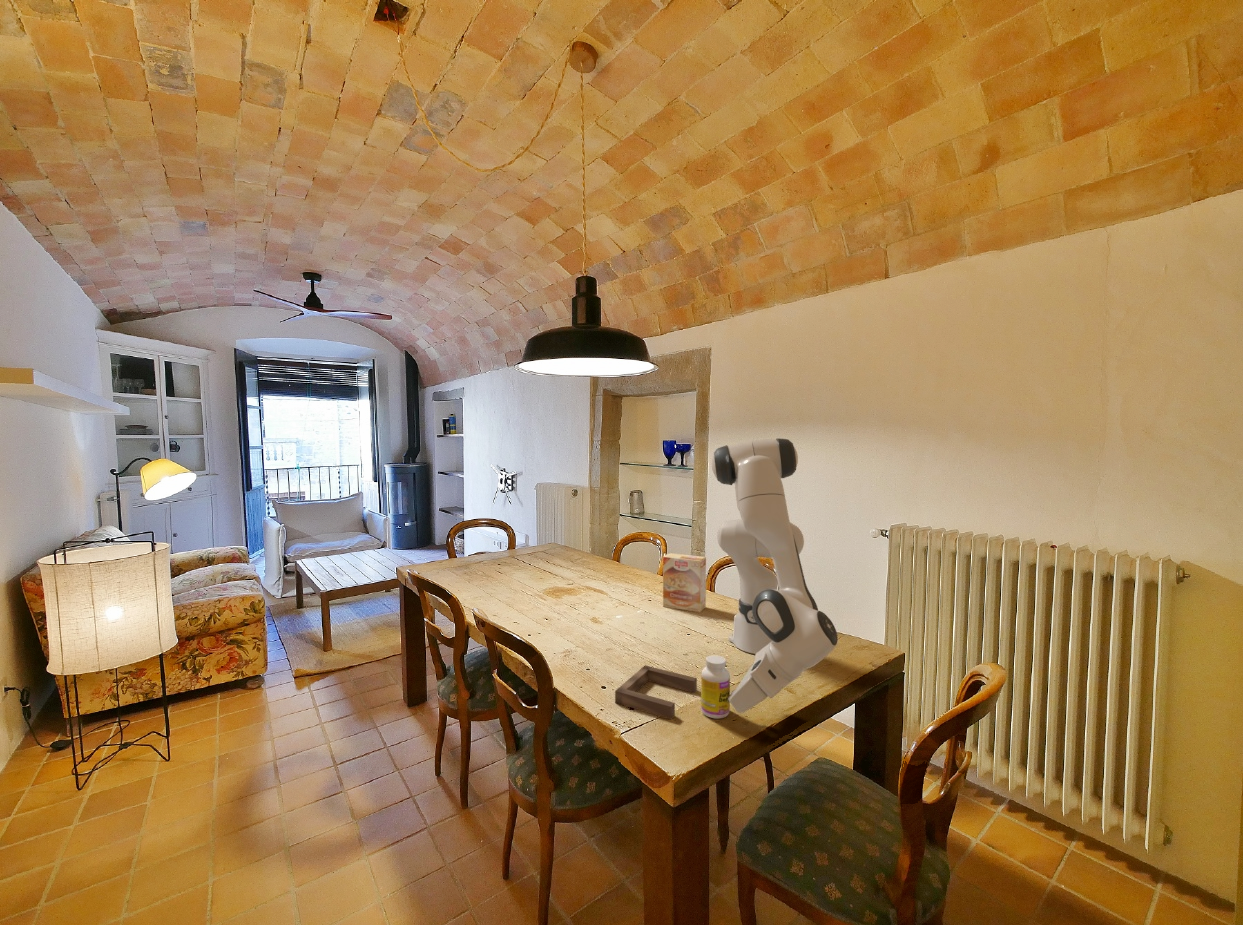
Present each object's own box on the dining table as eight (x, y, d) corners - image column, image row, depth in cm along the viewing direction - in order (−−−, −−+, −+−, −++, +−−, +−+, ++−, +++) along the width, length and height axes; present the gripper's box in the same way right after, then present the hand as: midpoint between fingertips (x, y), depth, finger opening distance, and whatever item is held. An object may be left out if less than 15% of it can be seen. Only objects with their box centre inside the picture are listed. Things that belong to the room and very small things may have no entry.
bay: (645, 676, 141) (645, 665, 140) (696, 689, 133) (696, 678, 133) (615, 702, 127) (615, 690, 127) (671, 719, 119) (671, 706, 119)
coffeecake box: (662, 607, 196) (662, 556, 195) (669, 601, 203) (669, 552, 202) (700, 613, 190) (700, 560, 189) (706, 607, 196) (706, 556, 195)
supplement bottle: (719, 723, 118) (720, 668, 117) (695, 712, 122) (695, 659, 121) (735, 711, 122) (735, 658, 122) (711, 701, 127) (711, 650, 126)
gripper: (775, 638, 125) (735, 669, 130) (752, 672, 107) (707, 706, 112) (794, 660, 123) (753, 690, 128) (774, 699, 105) (727, 732, 110)
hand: (731, 698), depth 120 cm, fingers closed, pressing on supplement bottle
